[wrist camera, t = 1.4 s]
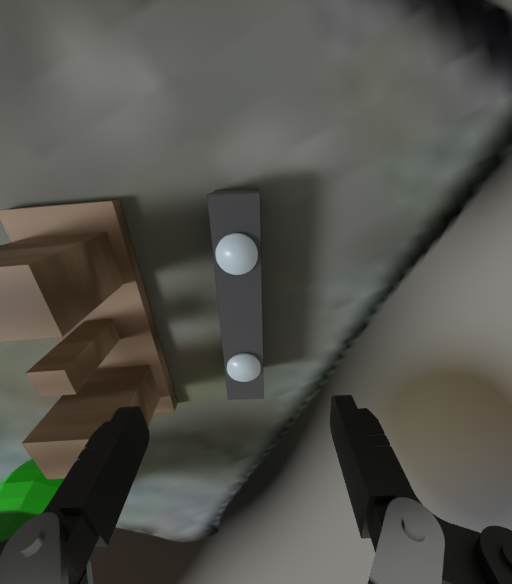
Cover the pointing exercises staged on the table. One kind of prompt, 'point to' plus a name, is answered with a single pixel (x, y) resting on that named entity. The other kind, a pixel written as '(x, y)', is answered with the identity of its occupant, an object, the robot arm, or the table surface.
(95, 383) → the display stand
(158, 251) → the table surface
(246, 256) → the grey bar with knobs
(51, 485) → the plastic bottle
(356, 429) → the robot arm
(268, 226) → the table surface
